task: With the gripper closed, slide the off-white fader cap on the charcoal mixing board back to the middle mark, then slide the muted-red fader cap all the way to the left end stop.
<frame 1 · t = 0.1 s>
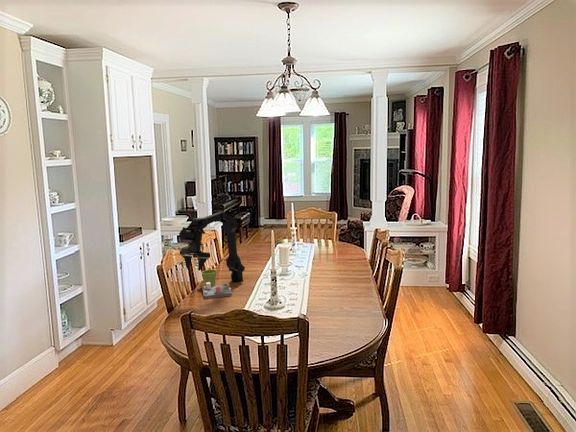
hand: (193, 269, 250), 15 cm above the table, tool pointing down, fingers open, 9 cm apart
fader white: (208, 285, 260), point 3 cm above the table, slide at 0.0 cm
fader red: (217, 289, 253), point 3 cm above the table, slide at 4.5 cm
plant pot: (210, 286, 272), on the table
mixing board: (216, 292, 257), on the table
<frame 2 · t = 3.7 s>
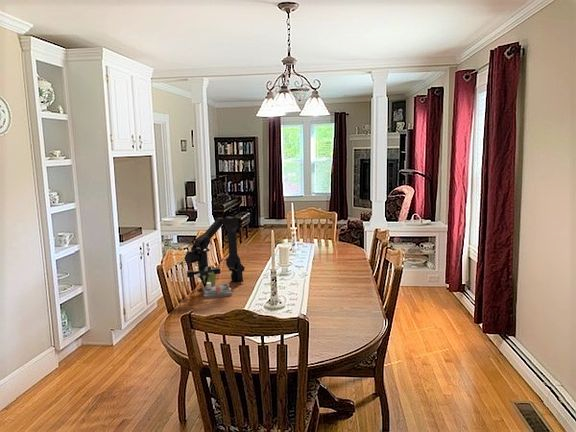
hand: (204, 286, 260), 3 cm above the table, tool pointing down, fingers closed
fader white: (209, 285, 260), point 3 cm above the table, slide at 0.3 cm, touching gripper
everything else where it was.
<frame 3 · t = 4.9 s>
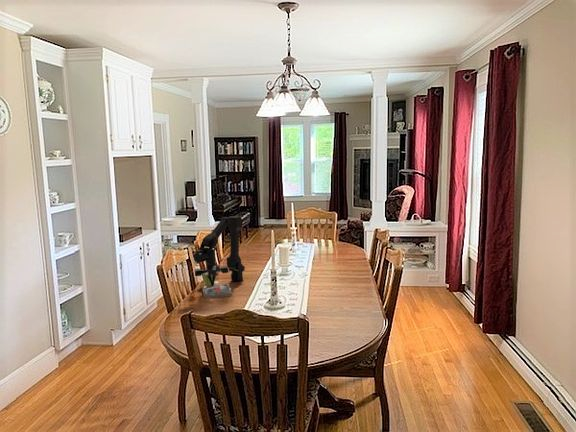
hand: (212, 285, 261), 3 cm above the table, tool pointing down, fingers closed
fader white: (216, 284, 261), point 3 cm above the table, slide at 4.6 cm, touching gripper
everything else where it was.
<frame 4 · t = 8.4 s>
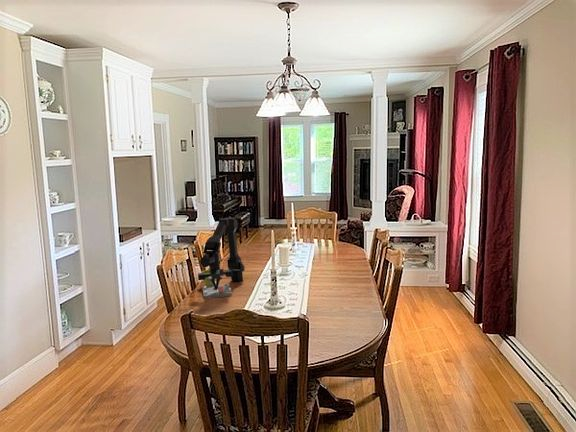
hand: (216, 289, 253), 3 cm above the table, tool pointing down, fingers closed
fader white: (216, 284, 261), point 3 cm above the table, slide at 4.6 cm
fader red: (220, 288, 253), point 3 cm above the table, slide at 6.0 cm, touching gripper
everything else where it was.
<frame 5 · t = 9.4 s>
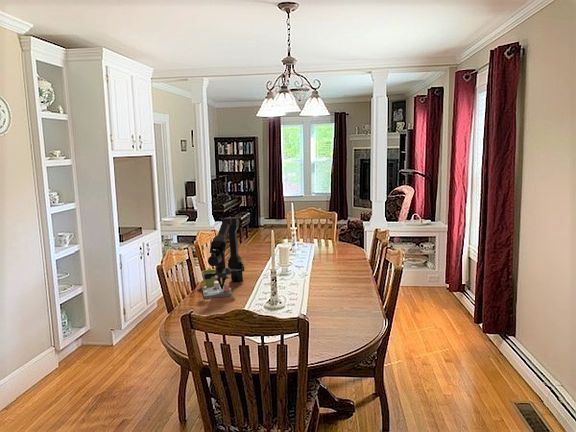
hand: (222, 289, 253), 3 cm above the table, tool pointing down, fingers closed
fader red: (226, 288, 254), point 3 cm above the table, slide at 9.2 cm, touching gripper
everything else where it was.
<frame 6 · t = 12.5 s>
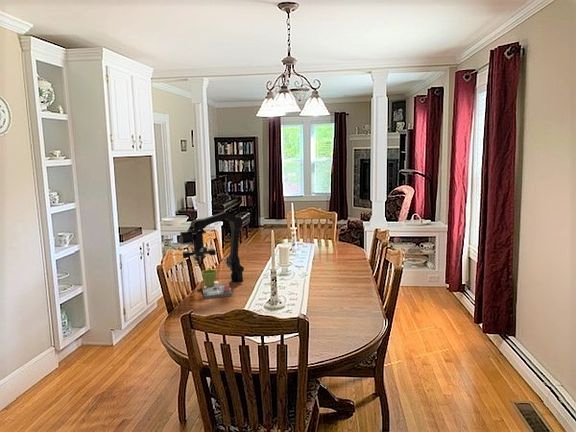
hand: (200, 267, 265), 12 cm above the table, tool pointing down, fingers closed
fader red: (226, 288, 254), point 3 cm above the table, slide at 9.2 cm
everything else where it was.
at the end: fader white slide at 4.6 cm; fader red slide at 9.2 cm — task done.
